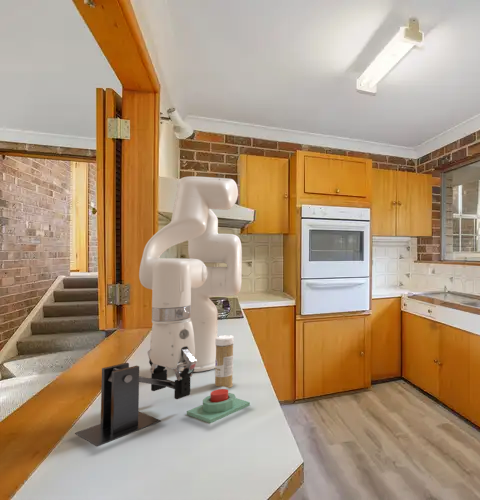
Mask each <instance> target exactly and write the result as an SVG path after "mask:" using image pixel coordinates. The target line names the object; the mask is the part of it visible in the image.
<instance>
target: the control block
mask: <svg viewBox="0 0 480 500" xmlns="http://www.w3.org/2000/svg"><path fill="white" fill-rule="evenodd" d="M249 406H251V402H250V401H247V400H245V399H240V398H237V397H236V395H235V393H232V392H228V399H227V400H225V401H221V402H210V395H207V396H206V397H204V398H203V400H202V404H201V405H199V406H196V407H194V408H190V409H189V410H187V411H186V415H187V416H190V417H192V418H196V419H198V420H200V421H202V422H206V423H208V424H212V423H214V422H217V421H219V420H221V419H224V418H225V417H227V416H230V415H233V414H235V413H236V412H238V411H241V410H243V409H245V408H247V407H249Z"/></svg>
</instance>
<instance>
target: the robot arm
mask: <svg viewBox="0 0 480 500" xmlns="http://www.w3.org/2000/svg"><path fill="white" fill-rule="evenodd" d="M176 185H177V189H176V190H177V191H176V194H175V199H174V205H173V209H172V215H171V219H170V222H168V224H166V225H164V226H163V227H161V228H160V229H159V230H157V232H156V233H154V234H153V235H152V236H151V237H150V239H148V241H147V242H146V244H145V245H144V248H143V252H142V256H141V260H140V264H139V271H138V278H139V282H140V284H141V286H142V287H144V288H146V289H147V290H152V291H151V292H152V295H151V323H152V327H151V334H150V344H149V345H150V347H149V350H147V356H148V360H149V361H148V363H149V365H150V368H149V371H150V373H151V377H150V378H152V379H158V380H163V379H168V369H170V370H171V369H172V370H173V372H174V374H175V378H176V379H174V382H175V389H174V396H173V397H174V398H173V399H175V400H179V399H182V398H185V397H188V396H190V395H191V378H192V376H193V373H198V372H205V371H210V370H215V361H216V345H215V338H216V337H218V315H219V314H218V312H219V311H218V308H217V306H216V304H215V303H214V302H213V300H212V299H210V298H212V297H232V296H237V295H239V293H240V292H241V288H242V277H243V276H242V273H243V267H242V266H243V248H242V242H241V239H240V237H239V236H238V235H237V234H233V233H219V219H218V216H217V215H216V213H215V212H214V211H213V210H222V211H228V210H231V209H233V207H234V205H236V203H237V201H238V197H239V188H238V184H237V182H236V181H235V180H234V179H233V178H228V177H227V178H226V177H212V176H210V177H209V176H192V175H191V176H184V177H181V178H179V179H178V181H177V184H176ZM186 242H187V245H188V246H187V254H188V257H189V258H180V257H177V258H176V257H171V258H170V257H169V258H168V257H161V256H162V255H163V253H165V252H166V251H167V250H169V249H170V248H172V247H174V246H176V245H179V244H182V243H186ZM205 263H208V264H209V263H213V264H214V263H216V264H217V263H224V264H226V266H206V264H205ZM166 368H167V369H166ZM166 388H167V387H166V386H161V385H155V384H150V391H151V392H156V391H160V390H163V389H166Z"/></svg>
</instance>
